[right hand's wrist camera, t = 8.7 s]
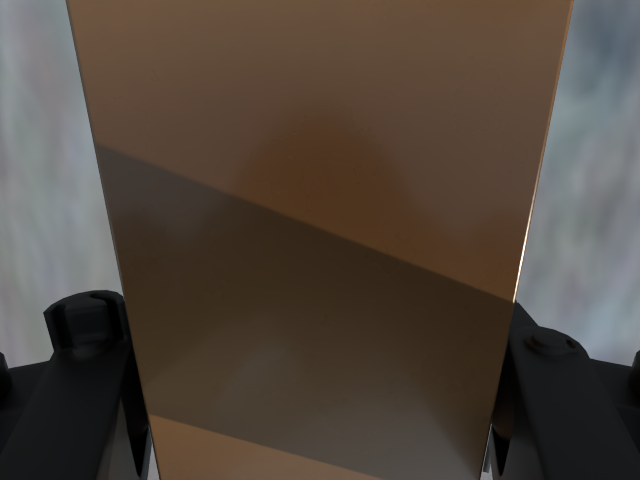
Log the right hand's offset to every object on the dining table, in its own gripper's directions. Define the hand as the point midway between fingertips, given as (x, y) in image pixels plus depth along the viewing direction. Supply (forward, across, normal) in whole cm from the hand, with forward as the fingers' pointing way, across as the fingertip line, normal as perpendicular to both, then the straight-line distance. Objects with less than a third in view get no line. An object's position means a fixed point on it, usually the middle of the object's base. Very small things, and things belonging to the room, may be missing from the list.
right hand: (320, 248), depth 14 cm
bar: (+1, 0, -9) cm, 9 cm away
